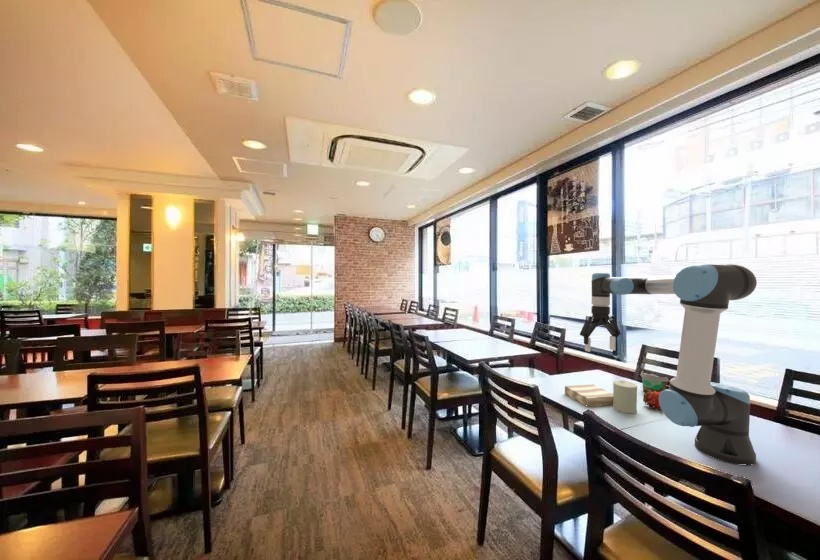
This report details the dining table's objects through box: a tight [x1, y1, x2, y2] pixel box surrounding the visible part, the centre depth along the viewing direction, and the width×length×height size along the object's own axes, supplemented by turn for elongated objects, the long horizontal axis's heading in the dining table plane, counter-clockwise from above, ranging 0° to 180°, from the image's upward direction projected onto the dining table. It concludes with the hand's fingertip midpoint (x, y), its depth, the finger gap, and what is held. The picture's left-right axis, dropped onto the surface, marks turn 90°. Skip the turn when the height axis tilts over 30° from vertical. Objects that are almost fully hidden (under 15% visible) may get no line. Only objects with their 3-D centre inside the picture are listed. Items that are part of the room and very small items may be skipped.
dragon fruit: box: [642, 391, 661, 410], centre depth 149 cm, size 8×8×12 cm
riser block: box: [564, 384, 613, 407], centre depth 159 cm, size 16×16×4 cm
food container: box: [640, 370, 670, 393], centre depth 166 cm, size 12×6×10 cm, turn 25°
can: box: [612, 380, 638, 414], centre depth 147 cm, size 9×9×12 cm
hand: (600, 350), depth 153 cm, fingers open, 13 cm apart
